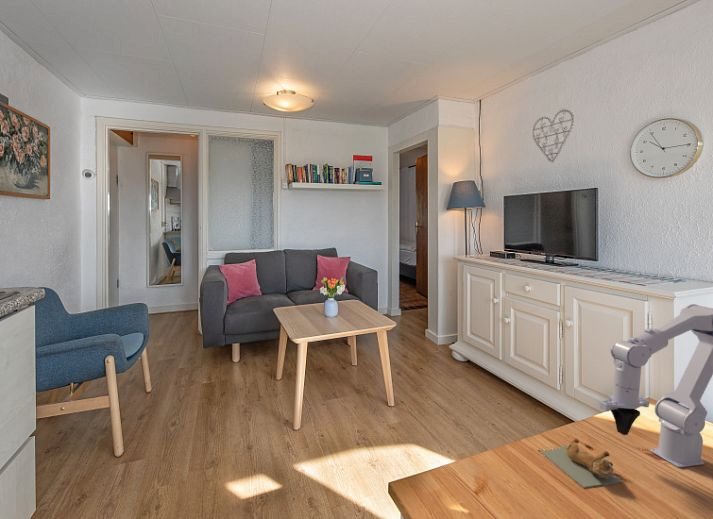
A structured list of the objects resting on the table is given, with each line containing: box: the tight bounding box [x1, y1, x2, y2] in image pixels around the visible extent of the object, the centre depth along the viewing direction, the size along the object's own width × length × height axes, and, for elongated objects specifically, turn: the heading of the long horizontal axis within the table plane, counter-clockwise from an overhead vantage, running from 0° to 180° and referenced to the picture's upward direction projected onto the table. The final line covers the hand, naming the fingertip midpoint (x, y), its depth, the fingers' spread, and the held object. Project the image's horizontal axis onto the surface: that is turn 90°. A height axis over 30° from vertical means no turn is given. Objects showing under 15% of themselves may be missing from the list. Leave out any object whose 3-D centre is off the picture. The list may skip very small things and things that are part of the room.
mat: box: [539, 445, 624, 489], centre depth 99 cm, size 12×16×1 cm
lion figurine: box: [566, 438, 614, 479], centre depth 98 cm, size 15×5×9 cm
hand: (622, 433), depth 101 cm, fingers closed
